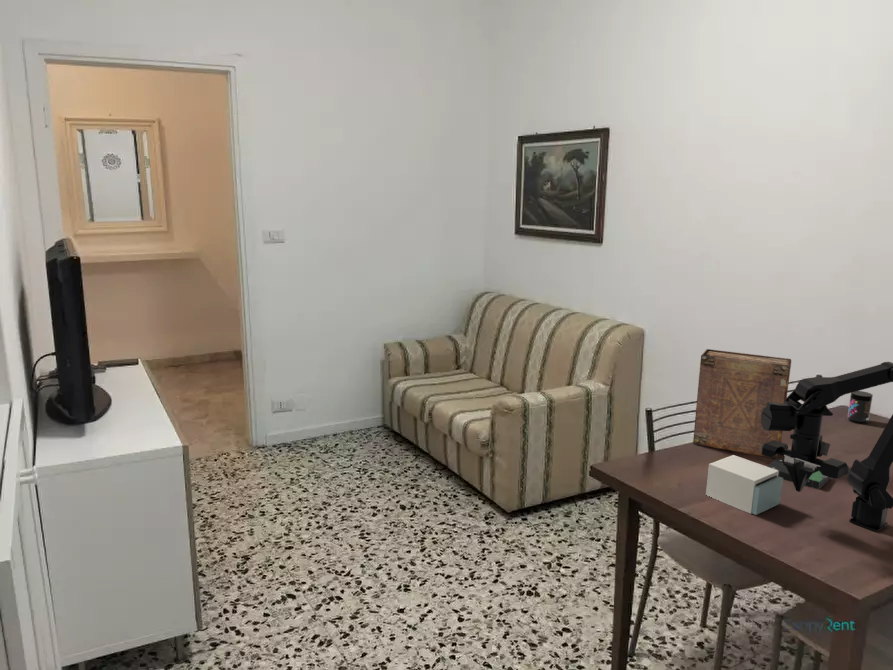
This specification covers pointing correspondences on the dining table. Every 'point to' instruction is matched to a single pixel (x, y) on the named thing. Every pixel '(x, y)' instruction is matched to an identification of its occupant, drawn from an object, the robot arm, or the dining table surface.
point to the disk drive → (814, 481)
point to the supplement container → (859, 407)
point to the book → (738, 400)
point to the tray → (767, 495)
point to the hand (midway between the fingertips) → (798, 491)
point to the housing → (736, 481)
